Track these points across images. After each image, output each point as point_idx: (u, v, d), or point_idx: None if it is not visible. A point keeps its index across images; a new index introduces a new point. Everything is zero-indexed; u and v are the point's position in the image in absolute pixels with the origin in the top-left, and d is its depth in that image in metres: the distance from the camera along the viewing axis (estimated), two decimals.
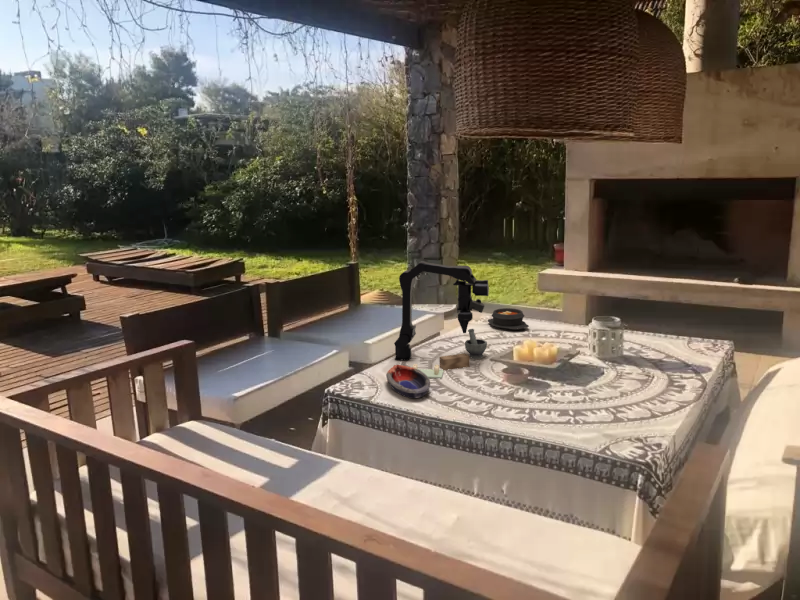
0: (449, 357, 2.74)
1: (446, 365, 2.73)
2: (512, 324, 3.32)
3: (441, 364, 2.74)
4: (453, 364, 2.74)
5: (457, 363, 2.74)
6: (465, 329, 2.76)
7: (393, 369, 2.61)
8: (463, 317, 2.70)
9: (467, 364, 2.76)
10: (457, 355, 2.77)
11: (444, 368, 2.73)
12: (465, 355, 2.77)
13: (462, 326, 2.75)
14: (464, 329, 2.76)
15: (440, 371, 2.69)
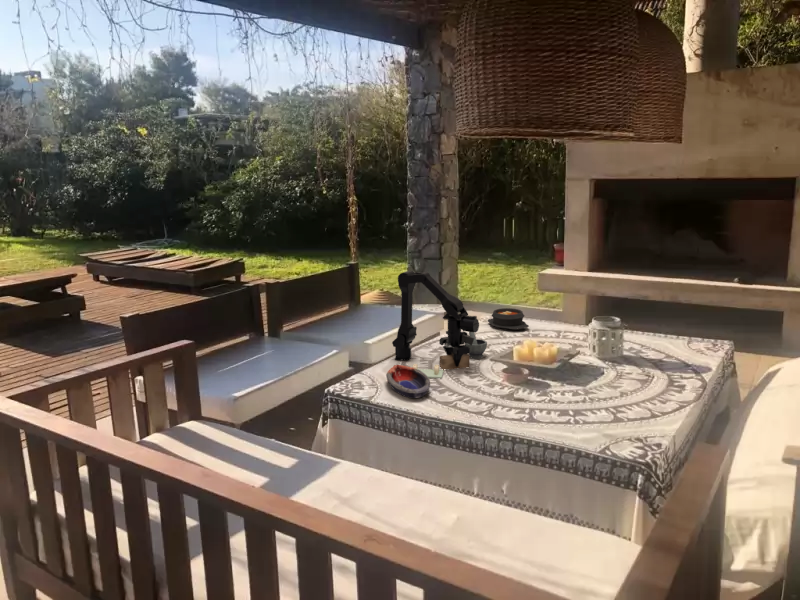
0: (449, 356, 2.74)
1: (445, 364, 2.73)
2: (512, 324, 3.32)
3: (441, 363, 2.74)
4: (453, 364, 2.74)
5: None
6: (458, 362, 2.73)
7: (393, 369, 2.61)
8: (462, 352, 2.66)
9: (467, 364, 2.75)
10: None
11: (443, 367, 2.73)
12: (465, 355, 2.76)
13: (456, 360, 2.72)
14: (457, 362, 2.73)
15: (440, 371, 2.69)
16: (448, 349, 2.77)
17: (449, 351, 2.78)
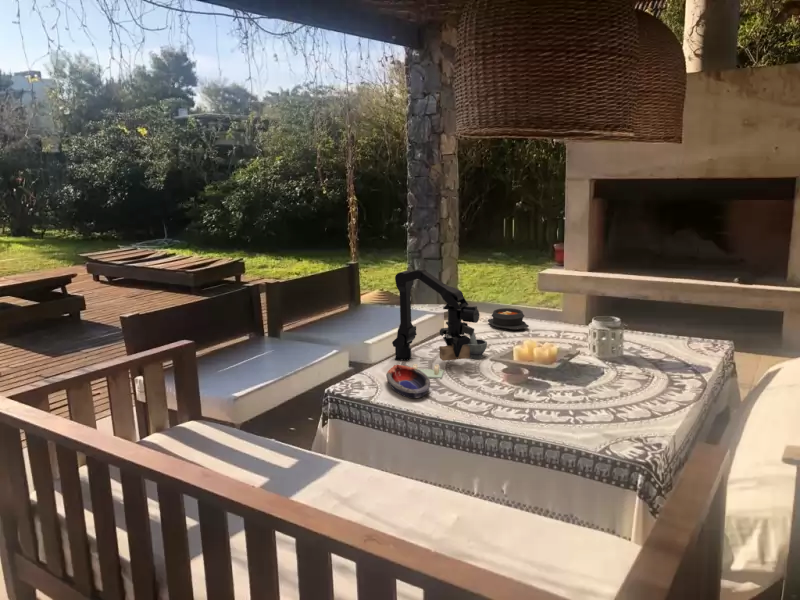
0: (449, 347, 2.73)
1: (446, 355, 2.72)
2: (512, 324, 3.32)
3: (441, 354, 2.73)
4: (453, 354, 2.73)
5: None
6: (458, 353, 2.72)
7: (393, 369, 2.61)
8: (462, 343, 2.65)
9: (467, 355, 2.74)
10: None
11: (443, 358, 2.72)
12: (465, 346, 2.75)
13: (456, 350, 2.71)
14: (457, 353, 2.72)
15: (440, 371, 2.69)
16: (448, 340, 2.76)
17: (449, 342, 2.77)
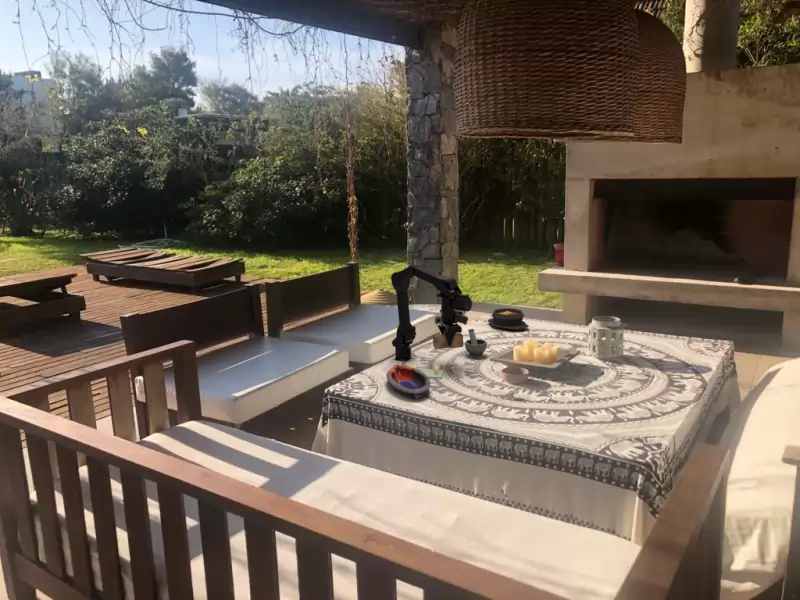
0: (442, 335, 2.71)
1: (438, 343, 2.69)
2: (512, 324, 3.32)
3: (434, 342, 2.71)
4: (446, 343, 2.70)
5: None
6: (451, 342, 2.69)
7: (393, 369, 2.61)
8: (453, 331, 2.62)
9: (460, 344, 2.71)
10: None
11: (436, 346, 2.69)
12: (459, 334, 2.72)
13: (448, 339, 2.68)
14: (450, 341, 2.69)
15: (440, 371, 2.69)
16: (442, 328, 2.73)
17: (443, 330, 2.74)
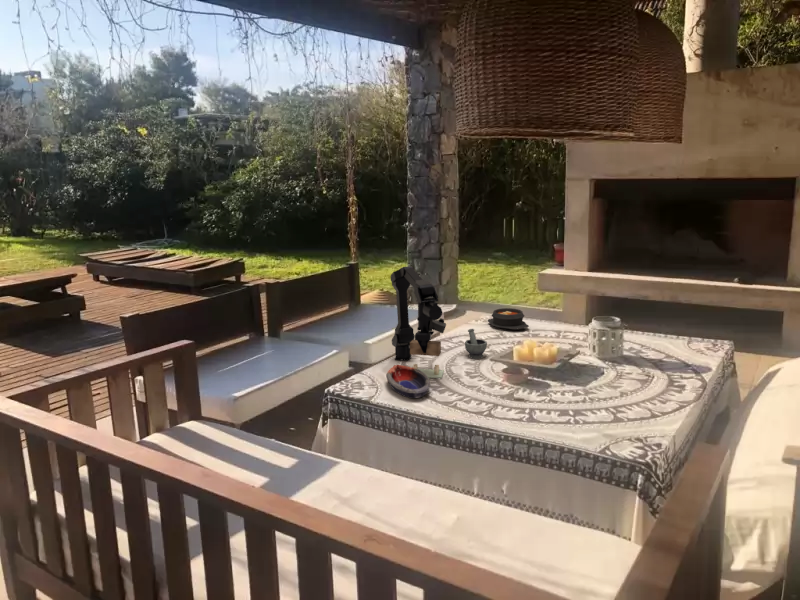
0: None
1: (413, 349, 2.64)
2: (512, 324, 3.32)
3: None
4: (421, 349, 2.64)
5: None
6: (425, 349, 2.62)
7: (393, 369, 2.61)
8: (420, 338, 2.55)
9: (436, 352, 2.62)
10: (429, 341, 2.65)
11: (411, 352, 2.65)
12: (436, 343, 2.63)
13: (421, 346, 2.62)
14: (424, 349, 2.62)
15: (440, 371, 2.69)
16: None
17: None
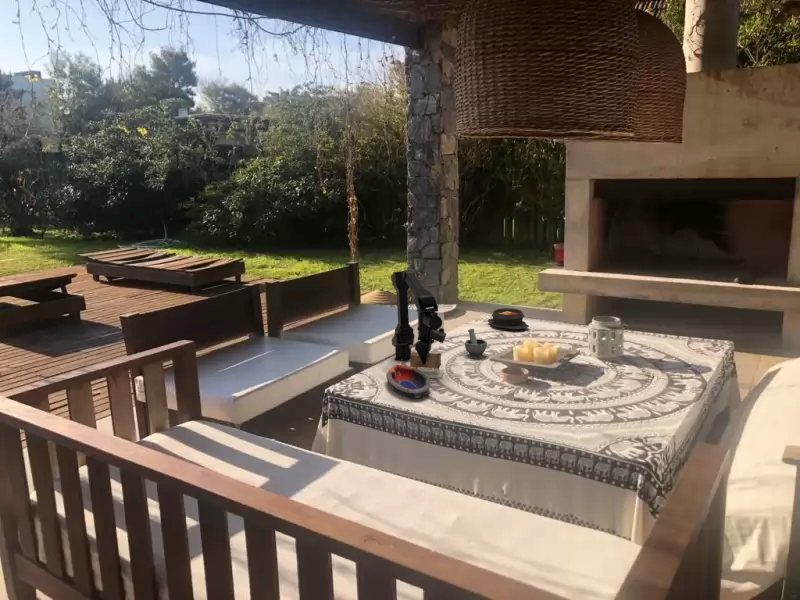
0: None
1: (413, 361, 2.65)
2: (512, 324, 3.32)
3: None
4: (421, 362, 2.65)
5: None
6: (424, 360, 2.61)
7: (393, 369, 2.61)
8: (420, 348, 2.56)
9: (436, 364, 2.63)
10: (430, 353, 2.66)
11: (411, 364, 2.66)
12: (436, 355, 2.64)
13: (421, 357, 2.61)
14: (423, 360, 2.62)
15: (440, 371, 2.69)
16: None
17: None
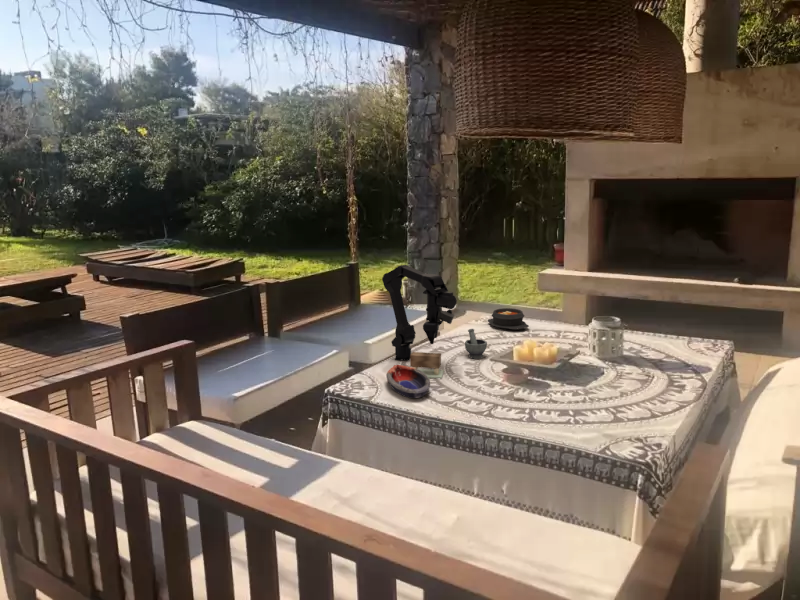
0: (419, 354, 2.66)
1: (413, 361, 2.65)
2: (512, 324, 3.32)
3: None
4: (421, 362, 2.65)
5: (425, 362, 2.64)
6: (432, 340, 2.69)
7: (393, 369, 2.61)
8: (428, 328, 2.64)
9: (436, 364, 2.63)
10: (430, 353, 2.66)
11: (411, 364, 2.66)
12: (436, 355, 2.64)
13: (429, 337, 2.68)
14: (431, 340, 2.69)
15: (440, 371, 2.69)
16: None
17: None
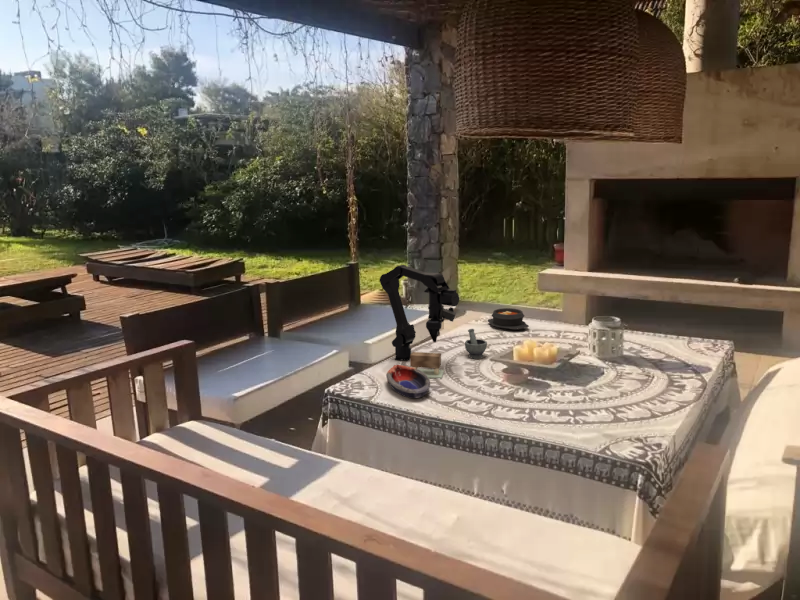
0: (419, 354, 2.66)
1: (413, 361, 2.65)
2: (512, 324, 3.32)
3: None
4: (421, 362, 2.65)
5: (425, 362, 2.64)
6: (435, 338, 2.71)
7: (393, 369, 2.61)
8: (431, 326, 2.66)
9: (436, 364, 2.63)
10: (430, 353, 2.66)
11: (411, 364, 2.66)
12: (436, 355, 2.64)
13: (432, 335, 2.70)
14: (434, 338, 2.71)
15: (440, 371, 2.69)
16: None
17: None
